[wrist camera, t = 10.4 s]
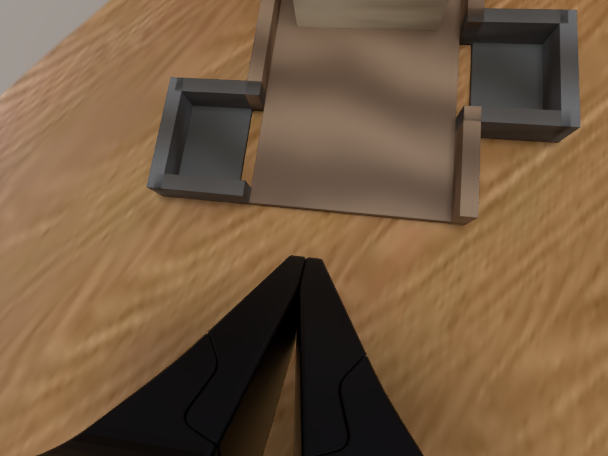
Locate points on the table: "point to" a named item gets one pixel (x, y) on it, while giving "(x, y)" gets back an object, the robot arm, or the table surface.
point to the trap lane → (371, 112)
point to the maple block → (370, 14)
